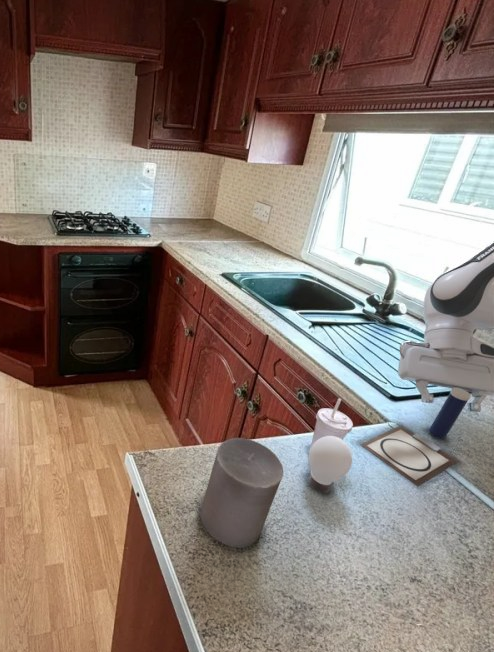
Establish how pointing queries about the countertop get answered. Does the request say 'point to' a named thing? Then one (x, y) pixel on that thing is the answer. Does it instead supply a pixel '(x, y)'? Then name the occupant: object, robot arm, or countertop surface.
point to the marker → (449, 412)
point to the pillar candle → (240, 492)
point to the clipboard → (409, 454)
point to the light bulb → (328, 462)
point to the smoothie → (331, 423)
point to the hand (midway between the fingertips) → (450, 406)
